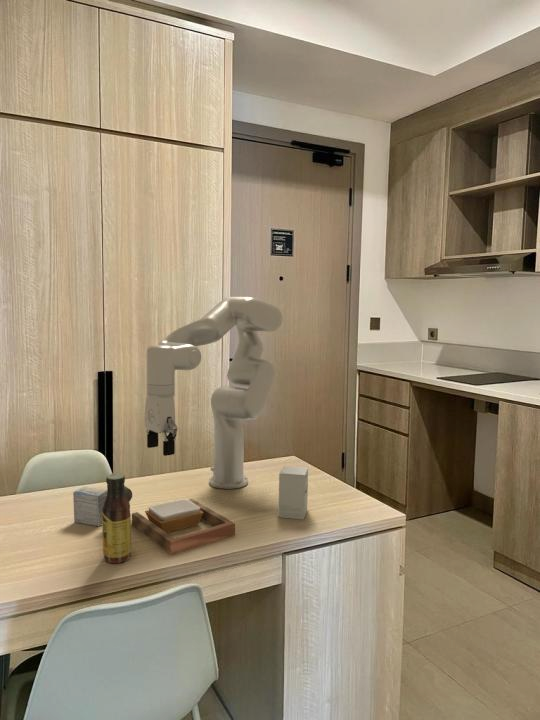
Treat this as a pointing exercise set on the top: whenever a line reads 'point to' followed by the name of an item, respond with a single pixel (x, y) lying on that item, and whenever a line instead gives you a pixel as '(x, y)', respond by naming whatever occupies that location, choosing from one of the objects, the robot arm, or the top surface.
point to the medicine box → (89, 505)
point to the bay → (188, 541)
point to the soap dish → (174, 515)
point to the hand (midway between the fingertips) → (160, 450)
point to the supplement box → (293, 492)
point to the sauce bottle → (116, 521)
